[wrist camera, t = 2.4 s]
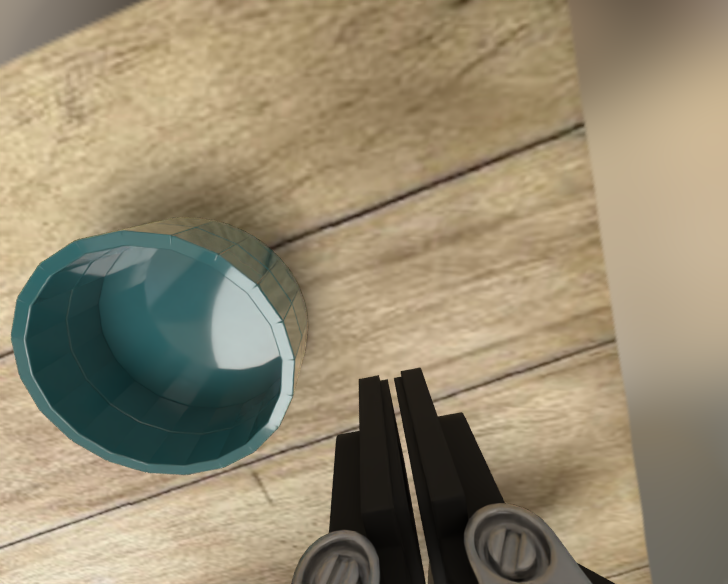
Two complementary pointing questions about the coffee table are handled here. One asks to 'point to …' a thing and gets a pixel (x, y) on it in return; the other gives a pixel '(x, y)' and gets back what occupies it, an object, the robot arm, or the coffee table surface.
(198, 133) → the coffee table surface
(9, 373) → the coffee table surface
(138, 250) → the bowl
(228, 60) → the coffee table surface
